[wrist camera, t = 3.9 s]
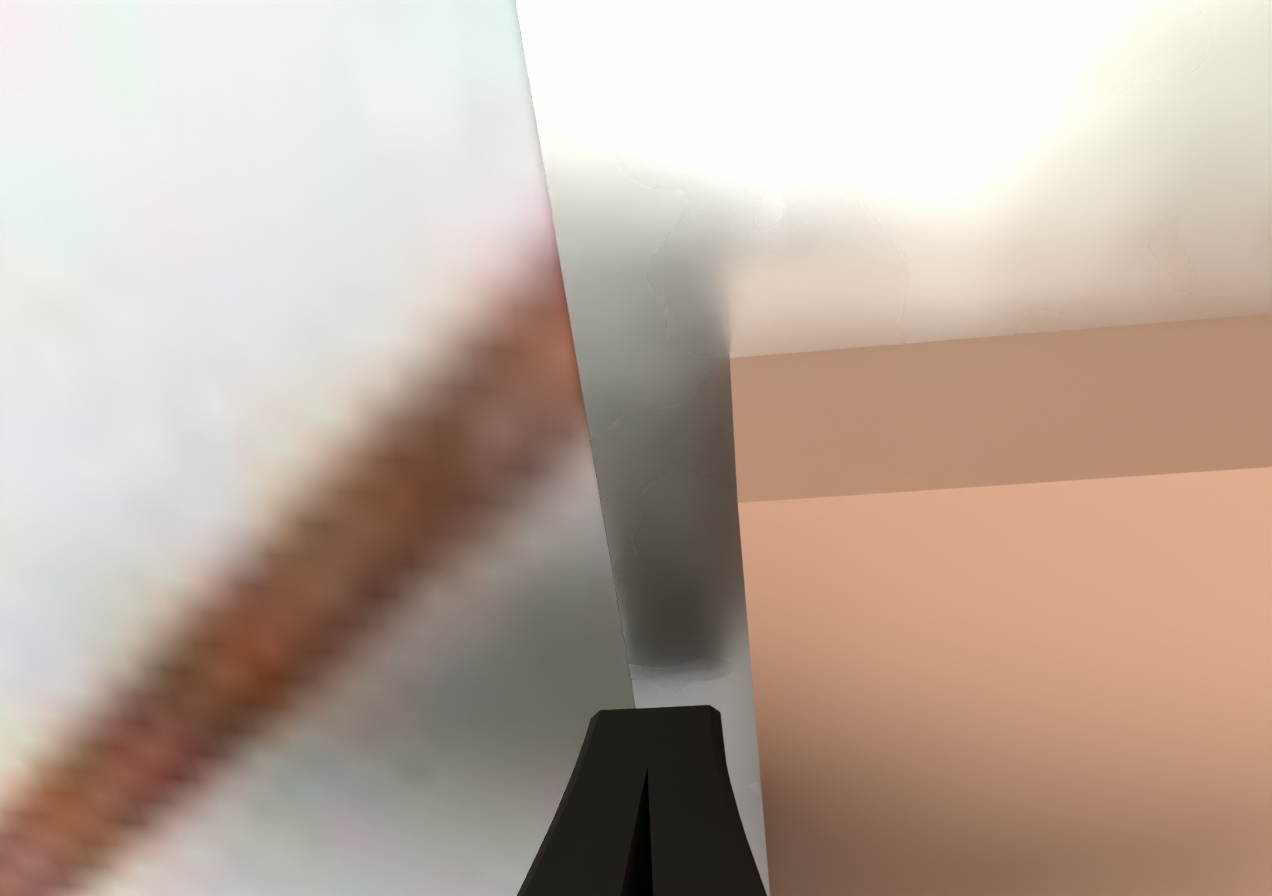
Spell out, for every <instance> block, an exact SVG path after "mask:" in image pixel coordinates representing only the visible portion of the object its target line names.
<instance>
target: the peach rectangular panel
mask: <svg viewBox="0 0 1272 896" xmlns="http://www.w3.org/2000/svg"><path fill="white" fill-rule="evenodd" d="M730 371H731V390H732V408H733V426H734V444H735V463H736V481H737V499H738V512H739V525H740V537H741V549H742V561H743V573H744V585H745V597H746V609H747V622H748V634H749V646H750V658H751V670H752V682H753V694H754V706H755V719H756V731H757V743H758V755H759V767H760V779H761V791H762V803H763V815H764V828H765V840H766V852H767V864H768V876H769V888H770V896H1272V314H1262V315H1250V316H1237V317H1225V318H1213V319H1201V320H1189V321H1176V322H1164V323H1152V324H1140V325H1128V326H1115V327H1103V328H1091V329H1079V330H1067V331H1054V332H1042V333H1030V334H1018V335H1006V336H993V337H981V338H969V339H957V340H945V341H932V342H920V343H908V344H896V345H884V346H871V347H859V348H847V349H835V350H823V351H810V352H798V353H786V354H774V355H762V356H749V357H737V358H730Z"/></svg>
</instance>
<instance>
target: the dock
mask: <svg viewBox="0 0 1272 896" xmlns="http://www.w3.org/2000/svg"><path fill="white" fill-rule="evenodd" d="M516 5H517V11H518V17H519V22H520V28H521V34H522V40H523V46H524V52H525V58H526V64H527V70H528V76H529V81H530V87H531V93H532V99H533V105H534V111H535V117H536V123H537V129H538V135H539V140H540V146H541V152H542V158H543V164H544V170H545V176H546V182H547V188H548V194H549V199H550V205H551V211H552V217H553V223H554V229H555V235H556V241H557V247H558V252H559V258H560V264H561V270H562V276H563V282H564V288H565V294H566V300H567V306H568V311H569V317H570V323H571V329H572V335H573V341H574V347H575V353H576V359H577V365H578V370H579V376H580V382H581V388H582V394H583V400H584V406H585V412H586V418H587V424H588V429H589V435H590V441H591V447H592V453H593V459H594V465H595V471H596V477H597V482H598V488H599V494H600V500H601V506H602V512H603V518H604V524H605V530H606V536H607V541H608V547H609V553H610V559H611V565H612V571H613V577H614V583H615V589H616V595H617V600H618V606H619V612H620V618H621V624H622V630H623V636H624V642H625V648H626V654H627V659H628V665H629V671H630V677H631V683H632V689H633V695H634V701H635V707H636V708H656V707H675V706H695V705H711V706H712V707H714V708H715V709H717V710H718V711H720V712H721V720H722V729H723V738H724V746H725V755H726V764H727V768H728V773H729V777H730V782H731V785H732V789H733V793H734V796H735V800H736V804H737V808H738V811H739V815H740V818H741V821H742V824H743V828H744V831H745V834H746V837H747V840H748V843H749V846H750V849H751V851H752V854H753V857H754V860H755V863H756V865H757V868H758V871H759V874H760V877H761V880H762V882H763V885H764V888H765V891H766V893H767V896H770V888H769V876H768V864H767V852H766V840H765V828H764V815H763V803H762V791H761V779H760V767H759V755H758V743H757V731H756V719H755V706H754V694H753V682H752V670H751V658H750V646H749V634H748V622H747V609H746V597H745V585H744V573H743V561H742V549H741V537H740V525H739V512H738V499H737V481H736V463H735V444H734V426H733V408H732V390H731V371H730V358H737V357H749V356H762V355H774V354H786V353H798V352H810V351H823V350H835V349H847V348H859V347H871V346H884V345H896V344H908V343H920V342H932V341H945V340H957V339H969V338H981V337H993V336H1006V335H1018V334H1030V333H1042V332H1054V331H1067V330H1079V329H1091V328H1103V327H1115V326H1128V325H1140V324H1152V323H1164V322H1176V321H1189V320H1201V319H1213V318H1225V317H1237V316H1250V315H1262V314H1272V0H516Z"/></svg>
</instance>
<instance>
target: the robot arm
mask: <svg viewBox="0 0 1272 896" xmlns="http://www.w3.org/2000/svg"><path fill="white" fill-rule="evenodd" d="M517 896H767V893H766V891H765V888H764V885H763V882H762V880H761V877H760V874H759V871H758V868H757V865H756V863H755V860H754V857H753V854H752V851H751V849H750V846H749V843H748V840H747V837H746V834H745V831H744V828H743V824H742V821H741V818H740V815H739V811H738V808H737V804H736V800H735V796H734V793H733V789H732V785H731V782H730V777H729V773H728V768H727V764H726V755H725V746H724V738H723V729H722V720H721V712H720V711H718V710H717V709H715V708H714V707H712V706H711V705H695V706H675V707H656V708H636V709H617V710H600V711H599V712H597V713H596V714H595V715H594V716H593V717H592V718H591V720H590V724H589V727H588V730H587V733H586V737H585V740H584V743H583V745H582V748H581V751H580V754H579V757H578V759H577V762H576V765H575V767H574V770H573V773H572V775H571V778H570V780H569V783H568V785H567V788H566V790H565V792H564V795H563V797H562V800H561V802H560V804H559V807H558V809H557V811H556V814H555V816H554V818H553V821H552V823H551V825H550V827H549V829H548V832H547V834H546V836H545V838H544V840H543V842H542V844H541V846H540V849H539V851H538V853H537V855H536V857H535V859H534V861H533V863H532V866H531V868H530V870H529V872H528V874H527V876H526V878H525V880H524V882H523V884H522V886H521V888H520V890H519V892H518V894H517Z"/></svg>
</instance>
